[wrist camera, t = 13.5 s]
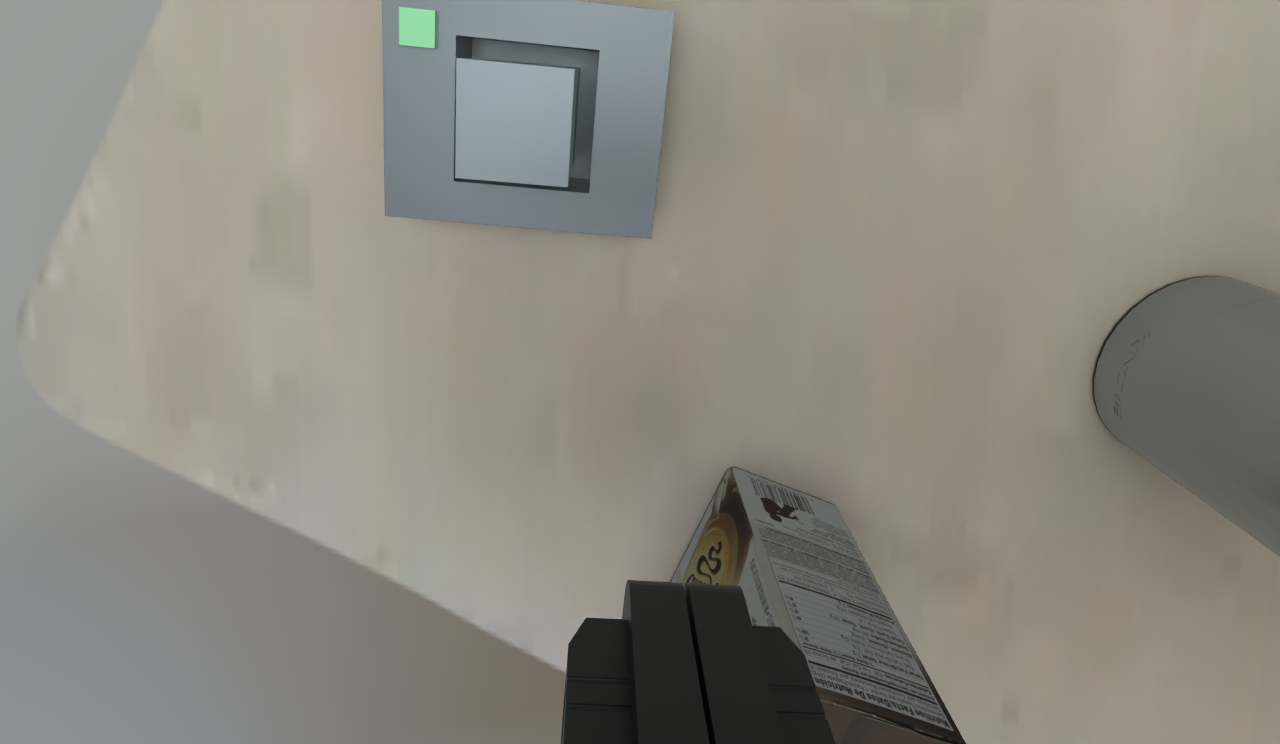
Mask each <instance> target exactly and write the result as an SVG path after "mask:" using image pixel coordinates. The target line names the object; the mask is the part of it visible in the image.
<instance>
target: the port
mask: <svg viewBox="0 0 1280 744" xmlns="http://www.w3.org/2000/svg"><path fill="white" fill-rule="evenodd" d="M674 14H675V11H666V10H656V9H647V8H638V7H629V6H620V5H611V4H601V3H592V2H583V1H574V0H382V27H383V105H384V182H385V216H392V217H404V218H416V219H427V220H439V221H450V222H462V223H473V224H485V225H497V226H508V227H520V228H531V229H543V230H555V231H566V232H578V233H589V234H601V235H612V236H624V237H636V238H647V239H652V229H653V220H654V210H655V200H656V190H657V180H658V171H659V161H660V151H661V141H662V131H663V122H664V112H665V102H666V92H667V82H668V73H669V63H670V53H671V43H672V33H673V24H674ZM456 58H470V59H492V60H503V61H513V62H524V63H534V64H545V65H556V66H566V67H577V68H580V74H579V91H578V107H577V124H576V141H575V157H574V163H573V168H572V172H571V176H570V180H569V184H568V187H557V186H546V185H534V184H522V183H510V182H498V181H486V180H474V179H462V178H455V153H456Z"/></svg>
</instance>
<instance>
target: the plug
mask: <svg viewBox="0 0 1280 744" xmlns="http://www.w3.org/2000/svg"><path fill="white" fill-rule="evenodd" d="M579 74H580V68H577V67H566V66H556V65H545V64H534V63H524V62H513V61H503V60H492V59H470V58H456V153H455V178H462V179H474V180H486V181H498V182H510V183H522V184H534V185H546V186H557V187H568V184H569V180H570V176H571V172H572V168H573V163H574V157H575V141H576V124H577V107H578V91H579Z"/></svg>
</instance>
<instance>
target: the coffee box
mask: <svg viewBox="0 0 1280 744" xmlns="http://www.w3.org/2000/svg"><path fill="white" fill-rule="evenodd" d="M671 582H673V583H682V584H683V587H684V584H685V583H696V584H715V585H734V586H740V587H741V588H742V591H743V594H744V597H745V601H746V604H747V608H748V612H749V615H750V619H751V623H752V626H770V627H780V628H781V629H782V630H783V631H784V632H785V634H786V635H787V636H788V637H789V638H790V639H791V640H792V641H793V642H794V643H795V645H796V646H797V647H798V648H799V649H800V650H801V651H802V652H803V653H804V655H805V657H806V660H807V663H808V666H809V669H810V671H811V674H812V677H813V680H814V683H815V686H816V693H818V694H819V697H820V700H821V703H822V706H823V709H824V711H825V720H828V723H829V726H830V729H831V731H832V734H833V737H834V740H835V743H836V744H966V743H965V741H964V739H963V738H962V736H961V734H960V732H959V730H958V728H957V727H956V725H955V723H954V721H953V719H952V718H951V716H950V714H949V712H948V710H947V708H946V707H945V705H944V703H943V701H942V699H941V698H940V696H939V694H938V692H937V690H936V688H935V687H934V685H933V683H932V681H931V679H930V677H929V676H928V674H927V672H926V670H925V668H924V667H923V665H922V663H921V661H920V659H919V657H918V656H917V654H916V652H915V650H914V648H913V647H912V645H911V643H910V641H909V639H908V637H907V636H906V634H905V632H904V630H903V628H902V626H901V625H900V623H899V621H898V619H897V617H896V616H895V614H894V612H893V610H892V608H891V607H890V605H889V603H888V601H887V599H886V598H885V596H884V594H883V592H882V590H881V588H880V586H879V585H878V583H877V581H876V579H875V577H874V575H873V573H872V572H871V570H870V568H869V566H868V565H867V562H866V561H865V559H864V557H863V555H862V553H861V552H860V550H859V548H858V546H857V544H856V543H855V541H854V539H853V537H852V536H851V533H850V532H849V530H848V528H847V526H846V524H845V522H844V520H843V519H842V517H841V515H840V513H839V511H838V509H837V508H836V506H835V505H833V504H830V503H828V502H825V501H822V500H820V499H817V498H815V497H812V496H809V495H807V494H804V493H801V492H799V491H796V490H793V489H791V488H788V487H785V486H783V485H780V484H777V483H775V482H772V481H770V480H767V479H764V478H761V477H759V476H756V475H754V474H751V473H748V472H746V471H743V470H740V469H738V468H734V467H732V468H729V469H728V470H727V472H726V474H725V476H724V478H723V479H722V481H721V483H720V485H719V487H718V489H717V491H716V493H715V495H714V497H713V499H712V501H711V503H710V505H709V507H708V509H707V511H706V513H705V515H704V517H703V519H702V521H701V523H700V525H699V527H698V529H697V531H696V533H695V535H694V537H693V539H692V541H691V543H690V545H689V547H688V549H687V551H686V553H685V555H684V557H683V559H682V561H681V563H680V564H679V566H678V568H677V570H676V572H675V574H674V576H673V578H672V580H671Z"/></svg>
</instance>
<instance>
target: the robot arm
mask: <svg viewBox="0 0 1280 744" xmlns="http://www.w3.org/2000/svg"><path fill="white" fill-rule="evenodd" d="M1094 396H1095V402H1096V406H1097V409H1098V413H1099V416H1100V417H1101V419H1102V421H1103V422H1104V424H1105V426H1106V428H1107V429H1108V430H1109V431H1110V432H1111V433H1112V434H1113V435H1114V436H1115V437H1116V438H1117V439H1118V440H1119V441H1121V442H1122V443H1124V444H1125V445H1126V446H1128V447H1129V448H1130V449H1132V450H1133V451H1135V452H1136V453H1137V454H1139V455H1140V456H1141V457H1143V458H1144V459H1146V460H1147V461H1148V462H1150V463H1151V464H1153V465H1154V466H1155V467H1157V468H1158V469H1159V470H1161V471H1162V472H1164V473H1165V474H1166V475H1167V476H1169V477H1170V478H1171V479H1173V480H1174V481H1175V482H1177V483H1178V484H1180V485H1181V486H1182V487H1184V488H1185V489H1187V490H1188V491H1189V492H1191V493H1192V494H1193V495H1195V496H1196V497H1198V498H1199V499H1200V500H1202V501H1203V502H1205V503H1206V504H1207V505H1209V506H1210V507H1211V508H1213V509H1214V510H1216V511H1217V512H1218V513H1220V514H1221V515H1223V516H1224V517H1225V518H1227V519H1228V520H1230V521H1231V522H1232V523H1234V524H1235V525H1236V526H1238V527H1239V528H1241V529H1242V530H1243V531H1245V532H1246V533H1248V534H1249V535H1250V536H1252V537H1253V538H1254V539H1256V540H1257V541H1259V542H1260V543H1261V544H1263V545H1264V546H1266V547H1267V548H1268V549H1270V550H1271V551H1272V552H1274V553H1275V554H1277V555H1278V556H1279V557H1280V294H1278V293H1275V292H1272V291H1269V290H1266V289H1263V288H1260V287H1257V286H1254V285H1251V284H1248V283H1245V282H1242V281H1239V280H1236V279H1233V278H1227V277H1217V276H1207V277H1199V278H1191V279H1188V280H1184V281H1181V282H1178V283H1175V284H1172V285H1169V286H1167V287H1166V288H1164V289H1162V290H1160V291H1158V292H1156V293H1154V294H1152V295H1150V296H1149V297H1148V298H1146V299H1145V300H1144V301H1142V302H1141V303H1140V304H1139V305H1137V306H1136V307H1135V308H1133V309H1132V310H1131V311H1130V312H1129V313H1128V315H1127V316H1126V317H1125V318H1124V319H1123V320H1122V321H1121V322H1120V323H1119V324H1118V325H1117V327H1116V328H1115V330H1114V331H1113V333H1112V334H1111V336H1110V337H1109V339H1108V340H1107V342H1106V344H1105V346H1104V349H1103V351H1102V353H1101V356H1100V358H1099V360H1098V364H1097V369H1096V374H1095V379H1094ZM561 744H836V743H835V740H834V737H833V734H832V731H831V729H830V726H829V723H828V720H825V711H824V709H823V706H822V703H821V700H820V697H819V694H818V693H816V686H815V683H814V680H813V677H812V674H811V671H810V669H809V666H808V663H807V660H806V657H805V655H804V653H803V652H802V651H801V650H800V649H799V648H798V647H797V646H796V645H795V643H794V642H793V641H792V640H791V639H790V638H789V637H788V636H787V635H786V634H785V632H784V631H783V630H782V629H781V628H780V627H770V626H752V623H751V619H750V615H749V612H748V608H747V604H746V601H745V597H744V594H743V591H742V588H741V587H740V586H734V585H715V584H696V583H685V584H684V587H683V584H682V583H673V582H654V581H635V580H628V581H627V584H626V589H625V597H624V607H623V616H622V619H602V618H586V619H585V620H584V622H583V623H582V625H581V626H580V628H579V629H578V631H577V632H576V634H575V635H574V637H573V638H572V640H571V641H570V643H569V646H568V658H567V671H566V684H565V695H564V708H563V720H562V733H561Z"/></svg>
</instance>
